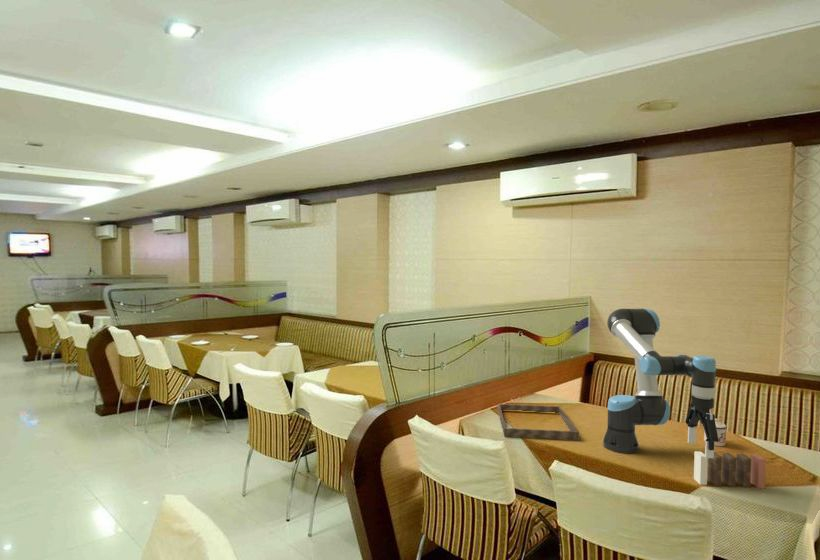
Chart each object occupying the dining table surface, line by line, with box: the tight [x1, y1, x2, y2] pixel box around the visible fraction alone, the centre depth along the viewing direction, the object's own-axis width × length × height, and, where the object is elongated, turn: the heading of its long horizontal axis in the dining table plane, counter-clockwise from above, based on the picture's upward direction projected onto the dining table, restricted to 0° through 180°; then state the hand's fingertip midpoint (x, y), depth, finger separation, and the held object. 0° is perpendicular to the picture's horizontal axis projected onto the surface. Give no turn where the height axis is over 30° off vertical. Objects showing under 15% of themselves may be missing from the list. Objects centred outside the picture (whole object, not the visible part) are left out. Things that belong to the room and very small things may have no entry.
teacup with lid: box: [703, 418, 727, 447], centre depth 226 cm, size 12×9×12 cm
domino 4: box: [736, 453, 751, 488], centre depth 181 cm, size 2×5×11 cm, turn 174°
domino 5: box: [750, 453, 767, 489], centre depth 181 cm, size 2×5×11 cm, turn 174°
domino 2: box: [707, 451, 722, 487], centre depth 182 cm, size 2×5×11 cm, turn 174°
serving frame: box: [497, 403, 579, 441], centre depth 249 cm, size 35×42×4 cm
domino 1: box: [693, 450, 708, 486], centre depth 183 cm, size 2×5×11 cm, turn 174°
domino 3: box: [721, 452, 737, 488], centre depth 182 cm, size 2×5×11 cm, turn 174°
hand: (700, 450), depth 183 cm, fingers open, 13 cm apart
